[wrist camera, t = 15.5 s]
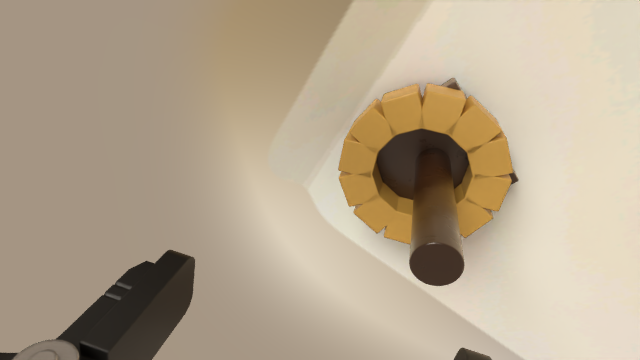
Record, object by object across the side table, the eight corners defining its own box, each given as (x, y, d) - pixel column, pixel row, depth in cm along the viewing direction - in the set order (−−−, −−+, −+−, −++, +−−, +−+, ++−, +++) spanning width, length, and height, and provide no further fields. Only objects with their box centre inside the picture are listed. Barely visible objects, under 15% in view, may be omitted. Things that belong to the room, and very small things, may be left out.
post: (354, 141, 26) (310, 235, 16) (453, 76, 23) (474, 143, 13) (414, 222, 27) (408, 355, 17) (515, 172, 24) (576, 298, 14)
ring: (316, 161, 26) (308, 173, 24) (423, 48, 21) (423, 54, 20) (419, 252, 27) (419, 271, 25) (541, 162, 22) (551, 177, 21)
